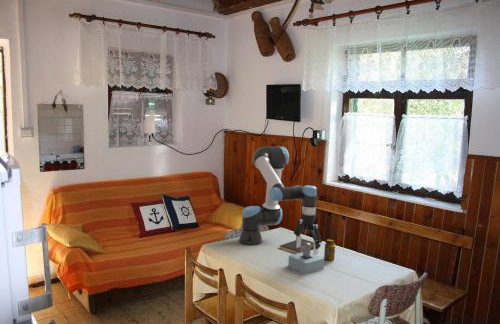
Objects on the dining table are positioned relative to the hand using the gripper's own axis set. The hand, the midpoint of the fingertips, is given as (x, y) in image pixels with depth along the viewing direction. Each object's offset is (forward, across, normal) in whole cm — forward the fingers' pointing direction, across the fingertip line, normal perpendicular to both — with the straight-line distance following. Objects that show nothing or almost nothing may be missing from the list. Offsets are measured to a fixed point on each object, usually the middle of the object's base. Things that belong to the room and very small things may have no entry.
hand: (306, 250), depth 230 cm
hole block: (+10, 0, 0) cm, 10 cm away
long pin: (+10, 0, 0) cm, 10 cm away
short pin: (+10, -13, +10) cm, 19 cm away
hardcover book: (+10, -27, +21) cm, 36 cm away
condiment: (+10, -2, +20) cm, 22 cm away
